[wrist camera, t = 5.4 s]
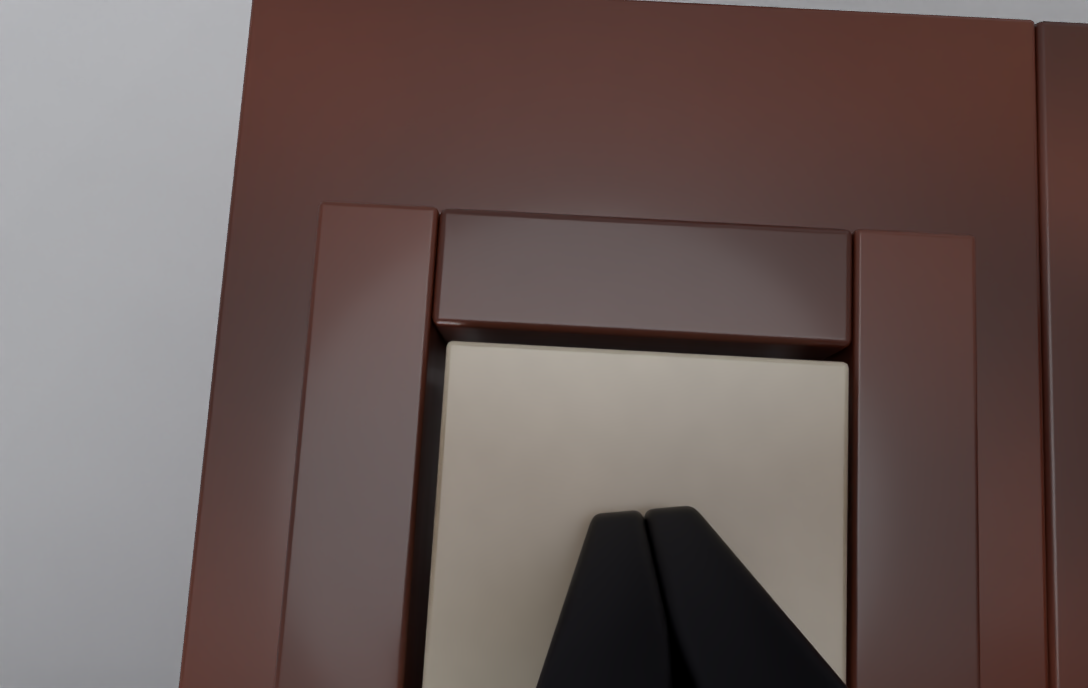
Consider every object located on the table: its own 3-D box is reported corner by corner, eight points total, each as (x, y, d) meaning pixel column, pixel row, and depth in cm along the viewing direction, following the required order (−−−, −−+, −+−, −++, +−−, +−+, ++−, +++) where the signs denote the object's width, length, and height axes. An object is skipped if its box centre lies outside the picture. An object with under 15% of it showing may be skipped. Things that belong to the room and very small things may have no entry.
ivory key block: (894, 761, 16) (1157, 959, 9) (282, 725, 16) (84, 893, 9) (895, 157, 17) (1121, -66, 10) (337, 129, 17) (201, -110, 10)
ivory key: (795, 740, 10) (846, 788, 8) (438, 718, 10) (416, 763, 8) (801, 384, 11) (850, 360, 9) (462, 366, 11) (446, 339, 9)
